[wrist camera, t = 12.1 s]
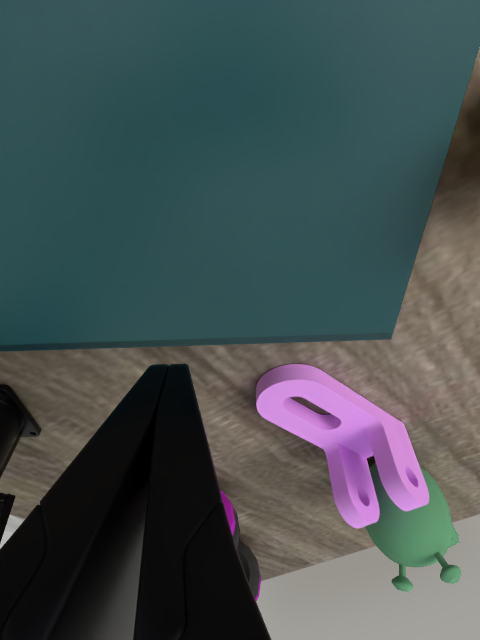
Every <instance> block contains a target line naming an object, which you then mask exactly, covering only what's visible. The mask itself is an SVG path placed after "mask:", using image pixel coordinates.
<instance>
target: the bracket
mask: <svg viewBox="0 0 480 640" xmlns="http://www.w3.org/2000/svg"><path fill="white" fill-rule="evenodd" d="M295 396H298V397H303V398H305V399H306V400H308V401H310V402H312V403H313V404H315V405H317V406H318V407H320V408H322V409H324V410H325V411H327V412H329V413H331V414H328V415H321V414H318V413H316V412H314V411H312V410H311V409H309V408H307V407H305V406H303V405H302V404H300V403H298V402H296V401H295V400H293V399H291V398H290V397H295ZM256 405H257V410H258V412H259V414H260V415H261V416H262V417H263V418H265V419H266V420H268V421H270V422H272V423H274V424H276V425H277V426H279V427H281V428H283V429H285V430H287V431H289V432H291V433H293V434H295V435H297V436H299V437H301V438H303V439H305V440H307V441H309V442H311V443H313V444H315V445H316V446H318V447H320V448H322V449H323V450H324V451H325V453H326V457H327V462H328V468H329V473H330V479H331V485H332V490H333V496H334V500H335V503H336V506H337V508H338V510H339V512H340V514H341V516H342V517H343V518H344V520H345V521H346V522H347V523H348V524H349V525H350V526H352V527H354V528H361V527H364V526H367V525H370V524H373V523H376V522H377V521H378V519H379V515H380V510H379V504H378V500H377V496H376V493H375V489H374V485H373V481H372V477H371V474H370V470H369V466H368V462H367V458H369V457H371V456H373V455H374V458H375V461H376V465H377V469H378V472H379V476H380V479H381V482H382V484H383V486H384V488H385V490H386V492H387V494H388V495H389V497H390V498H391V500H392V501H393V502H394V503H395V504H396V505H397V506H398V507H399V508H400V509H401V510H403V511H410V510H413V509H416V508H419V507H422V506H424V505H427V504H428V503H429V492H428V488H427V485H426V482H425V480H424V477H423V474H422V472H421V469H420V466H419V463H418V461H417V458H416V455H415V453H414V450H413V447H412V444H411V442H410V439H409V436H408V434H407V431H406V428H405V425H404V423H402V422H401V421H399V420H398V419H396V418H394V417H393V416H391V415H390V414H388V413H387V412H385V411H384V410H382V409H380V408H379V407H377V406H376V405H374V404H373V403H371V402H370V401H368V400H367V399H365V398H363V397H362V396H360V395H359V394H357V393H356V392H354V391H353V390H351V389H349V388H348V387H346V386H345V385H343V384H342V383H340V382H339V381H337V380H336V379H334V378H332V377H331V376H329V375H328V374H326V373H325V372H323V371H322V370H320V369H318V368H316V367H313V366H310V365H304V364H289V365H283V366H279V367H276V368H274V369H272V370H270V371H268V372H267V373H265V374H264V375H263V376H262V377H261V378H260V379H259V381H258V383H257V385H256Z"/></svg>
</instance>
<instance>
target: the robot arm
mask: <svg viewBox="0 0 480 640" xmlns="http://www.w3.org/2000/svg"><path fill="white" fill-rule="evenodd" d="M40 432H41V428H40V427H39V426H38V424H37V423H36V422H35V420H34V419H33V418H32V416H31V415H30V413H29V412H28V411H27V409H26V408H25V407H24V405H23V404H22V403H21V401H20V400H19V398H18V397H17V396H16V394H15V393H14V392H13V390H12V389H11V388H10V387H9V386H7V385H3V384H0V478H1V476H2V474H3V472H4V470H5V468H6V466H7V464H8V462H9V460H10V458H11V456H12V454H13V452H14V450H15V448H16V446H17V444H18V442H19V440H20V438H21V437H37V436H39V435H40ZM14 500H15V495H12V494H4V493H0V542H1V539H2V536H3V533H4V530H5V527H6V524H7V521H8V518H9V515H10V512H11V509H12V506H13V503H14ZM0 640H271V638H270V635H269V633H268V630H267V628H266V625H265V623H264V621H263V618H262V615H261V613H260V611H259V608H258V605H257V603H256V600H255V598H254V595H253V593H252V590H251V588H250V585H249V583H248V580H247V577H246V574H245V572H244V569H243V566H242V563H241V561H240V558H239V555H238V552H237V549H236V546H235V542H234V539H233V536H232V532H231V529H230V525H229V522H228V518H227V514H226V510H225V506H224V503H223V500H222V495H221V492H220V488H219V484H218V480H217V476H216V472H215V468H214V464H213V460H212V457H211V453H210V449H209V445H208V441H207V437H206V433H205V429H204V425H203V422H202V418H201V414H200V410H199V406H198V402H197V398H196V394H195V390H194V386H193V383H192V379H191V375H190V371H189V367H188V365H187V364H171V365H170V366H169V365H167V364H158V365H151V366H150V367H148V369H147V370H146V371H145V372H144V374H143V375H142V376H141V377H140V379H139V380H138V381H137V382H136V383H135V385H134V386H133V387H132V388H131V390H130V391H129V392H128V393H127V395H126V396H125V397H124V398H123V400H122V401H121V402H120V403H119V404H118V406H117V407H116V408H115V409H114V411H113V412H112V413H111V414H110V416H109V417H108V418H107V419H106V421H105V422H104V423H103V424H102V425H101V427H100V428H99V429H98V430H97V432H96V433H95V434H94V435H93V437H92V438H91V439H90V440H89V442H88V443H87V444H86V445H85V447H84V448H83V449H82V450H81V451H80V453H79V454H78V455H77V456H76V458H75V459H74V460H73V461H72V463H71V464H70V465H69V466H68V468H67V469H66V470H65V471H64V472H63V474H62V475H61V476H60V477H59V479H58V480H57V481H56V482H55V484H54V485H53V486H52V487H51V489H50V490H49V491H48V492H47V493H46V495H45V496H44V497H43V498H42V500H41V501H40V505H37V506H36V507H35V508H34V509H33V511H32V512H31V513H30V514H29V515H28V517H27V518H26V519H25V520H24V522H23V523H22V524H21V525H20V526H19V528H18V529H17V530H16V531H15V532H14V534H13V535H12V536H11V537H10V538H9V540H8V541H7V542H6V543H5V544H4V545H3V547H2V548H1V549H0Z"/></svg>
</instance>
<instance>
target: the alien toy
mask: <svg viewBox="0 0 480 640" xmlns="http://www.w3.org/2000/svg"><path fill="white" fill-rule="evenodd" d="M420 469H421V472H422V474H423V477H424V480H425V482H426V485H427V488H428V492H429V503H428V504H427V505H424V506H422V507H419V508H416V509H413V510H410V511H403V510H401V509H400V508H399V507H398V506H397V505H396V504H395V503H394V502H393V501H392V500H391V498H390V497H389V495H388V494H387V492H386V490H385V488H384V486H383V484H382V482H381V479H380V476H379V472H378V469H377V465H376V462H375V463H374V464H373V465H372V466H371V467H370V468H369V470H370V474H371V477H372V481H373V485H374V489H375V493H376V496H377V500H378V504H379V510H380V515H379V519H378V521H377V522H376V523H373V524H370V525H367V526H365V527H366V529H367V531H368V533H369V535H370V537H371V539H372V540H373V542H374V543H375V544H376V546H377V547H378V548H379V549H380V550H381V551H382V552H383V553H384V554H385V555H386V556H387V557H388V558H389V559H391V560H392V561H394V562H396V563H398V564H399V576H397V577H395V578H394V579H392V583H393V585H394V586H395V587H396V588H397V589H398V590H402V591H406V592H408V591H410V590H411V589H412V588H413V584H412V583H411V582H410V581H409V580H408V579H407V578H406V574H405V573H406V572H405V566H409V567H424V566H428V565H431V564H434V563H436V562H437V561H438V562H439V563H440V564H441V566H442V567H443V568H442V570H441V574H440V578H441V580H442V581H444V582H447V583H456V582H457V581H458V580H459V578H460V575H461V570H460V568H459V567H458V566H454V565H448V564H447V562H446V561H445V559H444V558H443V556H444V555H445V553H446V552H447V550H448V548H449V547H451V546H453V545H455V544H457V543H459V537H458V534H457V532H456V530H455V528H454V526H453V524H452V521H451V514H450V510H449V507H448V504H447V501H446V499H445V497H444V495H443V493H442V491H441V489H440V488H439V486H438V484H437V483H436V481H435V480H434V479H433V478H432V476H431V475H430V474H429V473H428V472H427V471H426V470H425V469H423V468H422V467H421V466H420Z"/></svg>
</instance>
